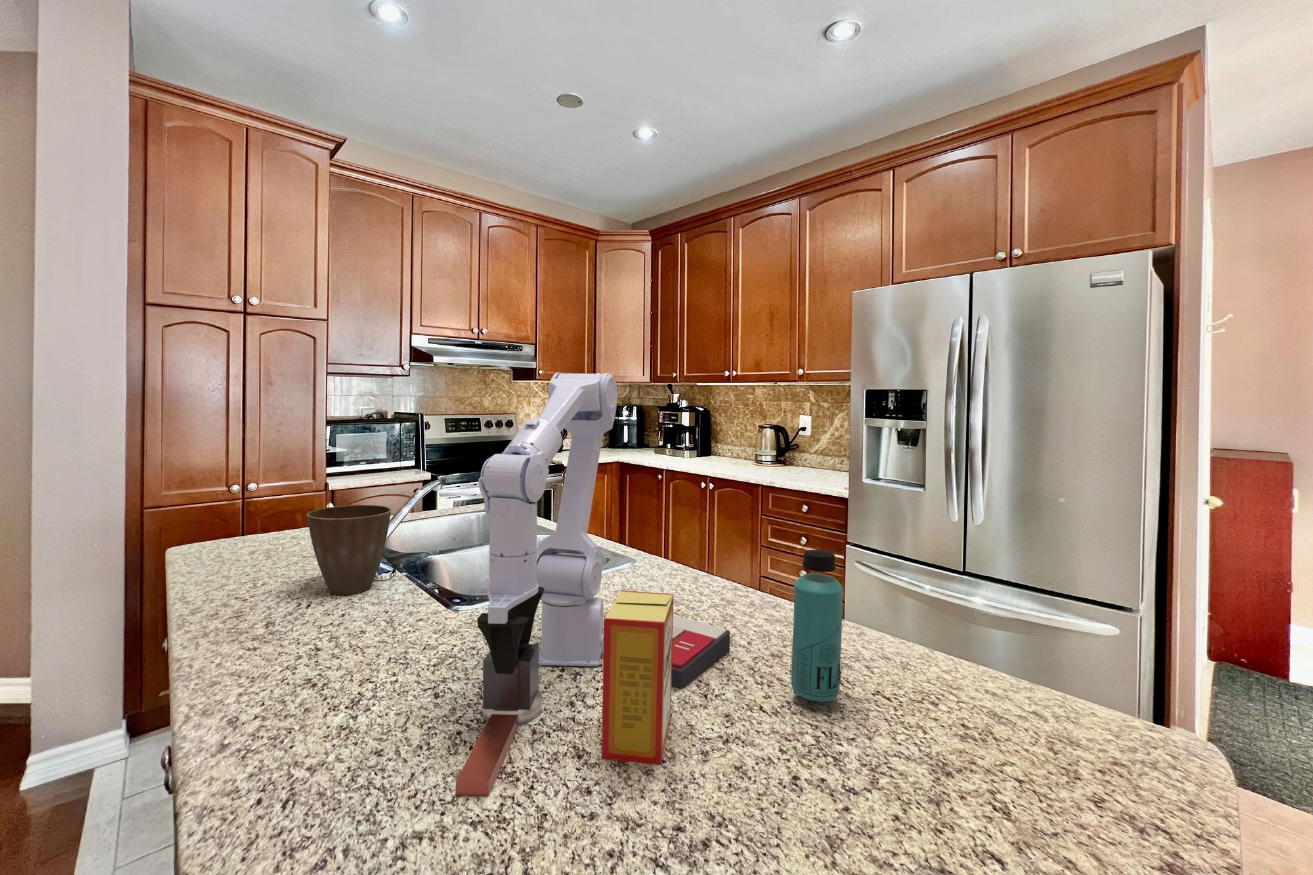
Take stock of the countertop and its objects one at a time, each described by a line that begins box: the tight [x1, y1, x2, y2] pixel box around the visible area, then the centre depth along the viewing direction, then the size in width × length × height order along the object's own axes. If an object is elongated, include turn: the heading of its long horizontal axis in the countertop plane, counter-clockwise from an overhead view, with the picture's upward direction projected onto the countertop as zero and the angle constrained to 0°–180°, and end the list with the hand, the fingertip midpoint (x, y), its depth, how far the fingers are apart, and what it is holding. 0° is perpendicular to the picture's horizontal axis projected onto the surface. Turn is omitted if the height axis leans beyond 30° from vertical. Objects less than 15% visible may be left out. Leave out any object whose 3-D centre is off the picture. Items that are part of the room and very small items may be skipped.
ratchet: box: [455, 689, 543, 797], centre depth 66 cm, size 7×19×4 cm, turn 0°
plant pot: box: [306, 504, 392, 596], centre depth 115 cm, size 15×15×16 cm
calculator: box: [671, 614, 731, 690], centre depth 87 cm, size 11×4×15 cm
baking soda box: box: [601, 590, 674, 766], centre depth 66 cm, size 10×6×16 cm
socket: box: [482, 642, 540, 711], centre depth 72 cm, size 6×6×6 cm
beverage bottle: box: [789, 549, 844, 702], centre depth 75 cm, size 6×7×20 cm
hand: (513, 657), depth 71 cm, fingers open, 7 cm apart
